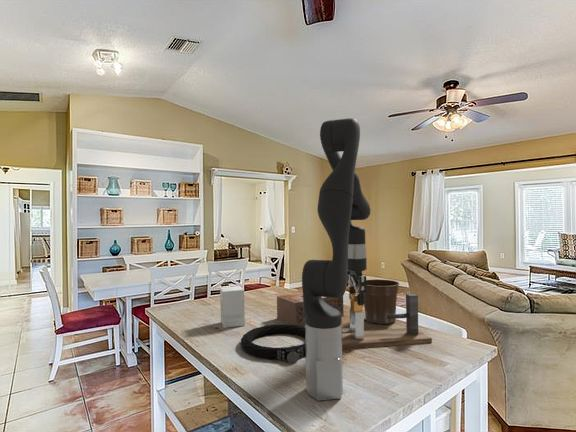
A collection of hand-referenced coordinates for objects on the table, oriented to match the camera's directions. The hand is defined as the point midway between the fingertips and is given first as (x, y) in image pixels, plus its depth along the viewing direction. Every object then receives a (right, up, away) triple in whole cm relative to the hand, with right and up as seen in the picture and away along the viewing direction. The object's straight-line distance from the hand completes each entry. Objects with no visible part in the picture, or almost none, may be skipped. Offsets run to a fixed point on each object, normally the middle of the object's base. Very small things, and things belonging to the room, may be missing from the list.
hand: (356, 302), depth 123 cm
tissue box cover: (-14, -15, +30) cm, 36 cm away
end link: (-3, -12, -1) cm, 12 cm away
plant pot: (+15, -14, +24) cm, 32 cm away
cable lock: (-27, -15, -3) cm, 31 cm away
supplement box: (-48, -15, +22) cm, 55 cm away
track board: (+8, -14, +1) cm, 16 cm away
